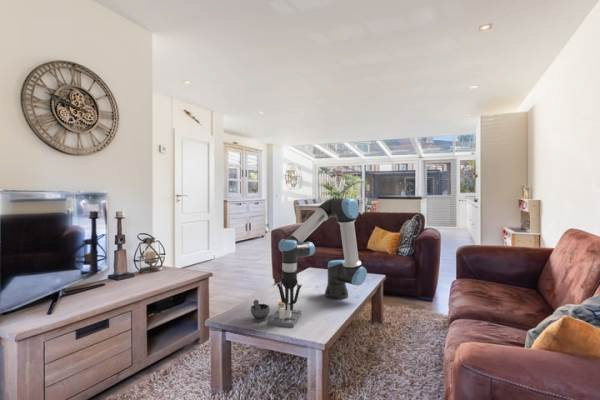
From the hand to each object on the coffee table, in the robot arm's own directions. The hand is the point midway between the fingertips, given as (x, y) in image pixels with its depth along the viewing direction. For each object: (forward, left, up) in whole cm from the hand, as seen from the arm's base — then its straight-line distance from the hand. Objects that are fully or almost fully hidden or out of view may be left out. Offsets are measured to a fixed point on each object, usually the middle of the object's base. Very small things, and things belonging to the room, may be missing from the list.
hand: (289, 316), depth 163 cm
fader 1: (+7, -9, -1) cm, 11 cm away
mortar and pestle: (+16, 0, -4) cm, 16 cm away
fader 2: (+3, 0, -1) cm, 4 cm away
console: (+3, -4, -4) cm, 6 cm away
